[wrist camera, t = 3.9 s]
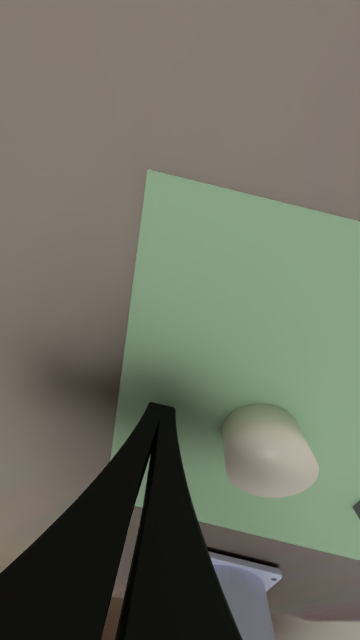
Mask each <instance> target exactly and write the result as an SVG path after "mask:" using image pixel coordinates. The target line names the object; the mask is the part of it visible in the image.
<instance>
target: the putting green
mask: <svg viewBox="0 0 360 640" xmlns="http://www.w3.org/2000/svg"><path fill="white" fill-rule="evenodd" d="M150 402H154V403H158V404H162V405H166V406H171V407H174V408H175V409H176V427H177V436H178V442H179V448H180V453H181V459H182V464H183V468H184V472H185V477H186V481H187V485H188V489H189V492H190V496H191V500H192V503H193V507H194V510H195V513H196V516H197V520H198V521H200V522H204V523H208V524H212V525H216V526H220V527H224V528H228V529H233V530H237V531H241V532H245V533H249V534H253V535H257V536H261V537H265V538H270V539H274V540H278V541H282V542H286V543H290V544H294V545H298V546H302V547H307V548H311V549H315V550H319V551H323V552H327V553H331V554H335V555H339V556H344V557H348V558H352V559H356V560H360V519H359V518H358V516H357V514H356V512H355V511H354V509H353V506H354V505H356V504H357V503H358V502H359V501H360V221H356V220H352V219H348V218H344V217H340V216H336V215H332V214H328V213H324V212H319V211H315V210H311V209H307V208H303V207H299V206H295V205H291V204H287V203H283V202H279V201H275V200H271V199H266V198H262V197H258V196H254V195H250V194H246V193H242V192H238V191H234V190H230V189H226V188H222V187H217V186H213V185H209V184H205V183H201V182H197V181H193V180H189V179H185V178H181V177H177V176H173V175H169V174H164V173H160V172H156V171H152V170H147V178H146V186H145V194H144V201H143V209H142V217H141V225H140V233H139V240H138V248H137V256H136V264H135V272H134V279H133V287H132V295H131V303H130V310H129V318H128V326H127V334H126V342H125V349H124V357H123V365H122V373H121V381H120V388H119V396H118V404H117V412H116V419H115V427H114V435H113V443H112V451H111V458H110V461H111V460H112V458H113V457H114V456H115V455H116V453H117V452H118V451H119V449H120V448H121V447H122V445H123V444H124V443H125V441H126V440H127V439H128V437H129V436H130V434H131V433H132V431H133V430H134V428H135V427H136V425H137V424H138V422H139V421H140V419H141V417H142V416H143V414H144V412H145V410H146V408H147V406H148V403H150ZM251 404H269V405H274V406H277V407H280V408H282V409H284V410H286V411H287V412H288V413H290V414H291V415H292V416H293V418H294V419H295V421H296V422H297V424H298V426H299V428H300V430H301V432H302V434H303V436H304V438H305V440H306V442H307V443H308V445H309V447H310V449H311V451H312V453H313V455H314V457H315V459H316V461H317V463H318V466H319V474H318V477H317V479H316V481H315V482H314V483H313V484H312V485H311V486H310V487H309V488H308V489H306V490H304V491H303V492H300V493H298V494H295V495H292V496H288V497H281V498H266V497H259V496H255V495H251V494H249V493H246V492H244V491H242V490H240V489H239V488H237V487H236V486H235V485H234V484H233V483H232V482H231V481H230V480H229V478H228V476H227V474H226V467H225V457H224V447H223V437H222V426H223V423H224V421H225V419H226V418H227V416H228V415H230V414H231V413H232V412H233V411H235V410H236V409H238V408H241V407H243V406H246V405H251ZM150 455H151V454H150ZM149 462H150V458H149V461H148V464H147V467H146V470H145V474H144V477H143V480H142V483H141V486H140V490H139V493H138V496H137V499H136V502H135V506H138V507H142V508H143V502H144V495H145V489H146V482H147V475H148V469H149Z"/></svg>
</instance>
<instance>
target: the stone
mask: <svg viewBox="0 0 360 640" xmlns="http://www.w3.org/2000/svg"><path fill="white" fill-rule="evenodd" d="M222 437H223V447H224V457H225V467H226V474H227V476H228V478H229V480H230V481H231V482H232V483H233V484H234V485H235V486H236V487H237V488H239V489H240V490H242V491H244V492H246V493H249V494H251V495H255V496H259V497H266V498H281V497H288V496H292V495H295V494H298V493H300V492H303V491H304V490H306V489H308V488H309V487H310V486H311V485H312V484H313V483H314V482H315V481H316V479H317V477H318V474H319V466H318V463H317V461H316V459H315V457H314V455H313V453H312V451H311V449H310V447H309V445H308V443H307V442H306V440H305V438H304V436H303V434H302V432H301V430H300V428H299V426H298V424H297V422H296V421H295V419H294V418H293V416H292V415H291V414H290V413H288V412H287V411H286V410H284V409H282V408H280V407H277V406H274V405H269V404H251V405H246V406H243V407H241V408H238V409H236V410H235V411H233V412H232V413H231V414H230V415H228V416H227V418H226V419H225V421H224V423H223V426H222Z"/></svg>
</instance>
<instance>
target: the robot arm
mask: <svg viewBox="0 0 360 640" xmlns="http://www.w3.org/2000/svg"><path fill="white" fill-rule="evenodd" d="M150 454H151V455H150ZM149 458H150V462H149V469H148V475H147V482H146V489H145V495H144V502H143V509H142V515H141V520H140V526H139V530H138V535H137V540H136V544H135V549H134V554H133V558H132V563H131V568H130V572H129V577H128V582H127V586H126V591H125V596H124V600H123V605H122V610H121V614H120V619H119V624H118V628H117V633H116V637H115V640H275V637H274V632H273V627H272V621H271V616H270V611H269V606H268V601H267V595H266V592H267V591H268V590H269V589H270V588H271V587H272V586H274V585H275V584H276V583H277V582H278V581H279V580H280V579H281V578H282V574H281V570H280V569H279V568H275V567H271V566H267V565H263V564H259V563H255V562H251V561H246V560H242V559H238V558H234V557H230V556H226V555H222V554H218V553H214V552H209V551H208V549H207V546H206V543H205V541H204V538H203V535H202V532H201V529H200V526H199V523H198V520H197V516H196V513H195V510H194V507H193V503H192V500H191V496H190V492H189V489H188V485H187V481H186V477H185V472H184V468H183V464H182V459H181V453H180V448H179V442H178V436H177V427H176V409H175V408H174V407H171V406H166V405H162V404H158V403H154V402H150V403H148V406H147V408H146V410H145V412H144V414H143V416H142V417H141V419H140V421H139V422H138V424H137V425H136V427H135V428H134V430H133V431H132V433H131V434H130V436H129V437H128V439H127V440H126V441H125V443H124V444H123V445H122V447H121V448H120V449H119V451H118V452H117V453H116V455H115V456H114V457H113V458H112V460H111V461H110V462H109V463H108V465H107V466H106V467H105V468H104V469H103V471H102V472H101V473H100V474H99V475H98V476H97V478H96V479H95V480H94V481H93V482H92V483H91V484H90V485H89V487H88V488H87V489H86V490H85V491H84V492H83V493H82V494H81V495H80V496H79V497H78V499H77V500H76V501H75V502H74V503H73V504H72V505H71V506H70V507H69V508H68V509H67V510H66V511H65V512H64V513H63V514H62V515H61V516H60V517H59V518H58V519H57V520H56V521H55V522H54V523H53V524H52V525H51V526H50V527H49V528H48V529H47V530H46V531H45V532H44V533H43V534H42V535H41V536H40V537H39V538H38V539H37V540H36V541H35V542H34V543H33V544H32V545H31V546H30V547H29V548H27V549H26V550H25V551H24V552H23V553H22V554H21V555H20V556H19V557H18V558H17V559H16V560H14V561H13V562H12V563H11V564H10V565H9V566H8V567H7V568H6V569H5V570H4V571H2V572H1V573H0V640H101V637H102V633H103V628H104V625H105V620H106V617H107V612H108V608H109V604H110V600H111V596H112V592H113V588H114V584H115V580H116V576H117V572H118V568H119V564H120V560H121V556H122V552H123V547H124V543H125V539H126V535H127V531H128V527H129V523H130V519H131V516H132V512H133V509H134V506H135V502H136V499H137V496H138V493H139V490H140V486H141V483H142V480H143V477H144V474H145V470H146V467H147V464H148V461H149Z"/></svg>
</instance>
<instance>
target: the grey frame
mask: <svg viewBox="0 0 360 640" xmlns="http://www.w3.org/2000/svg"><path fill="white" fill-rule="evenodd" d="M353 509H354V511H355V512H356V514H357V516H358V518H359V519H360V501H359V502H358V503H357V504H356V505H354V506H353Z"/></svg>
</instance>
